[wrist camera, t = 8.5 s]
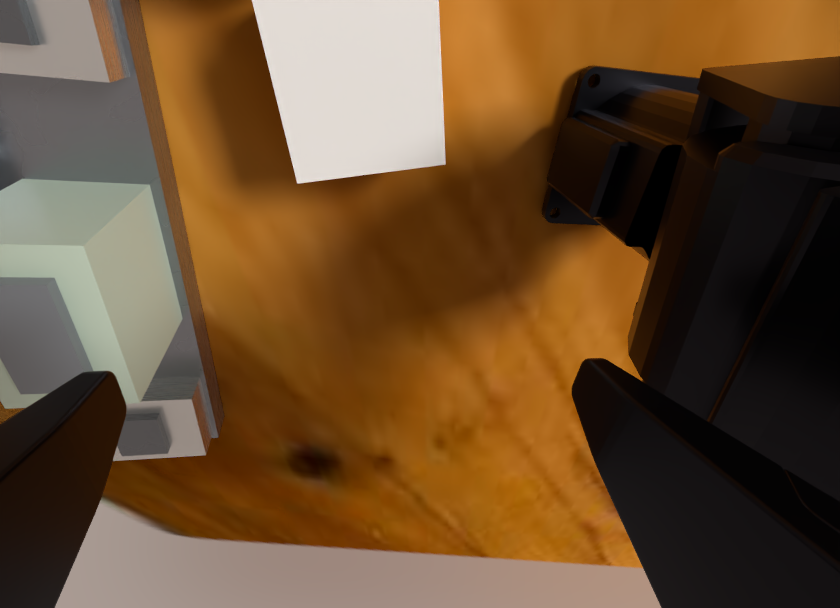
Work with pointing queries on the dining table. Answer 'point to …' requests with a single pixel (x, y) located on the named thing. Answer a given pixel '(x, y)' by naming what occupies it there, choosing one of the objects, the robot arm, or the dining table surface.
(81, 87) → the rail
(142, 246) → the module
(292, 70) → the block
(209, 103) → the dining table surface
